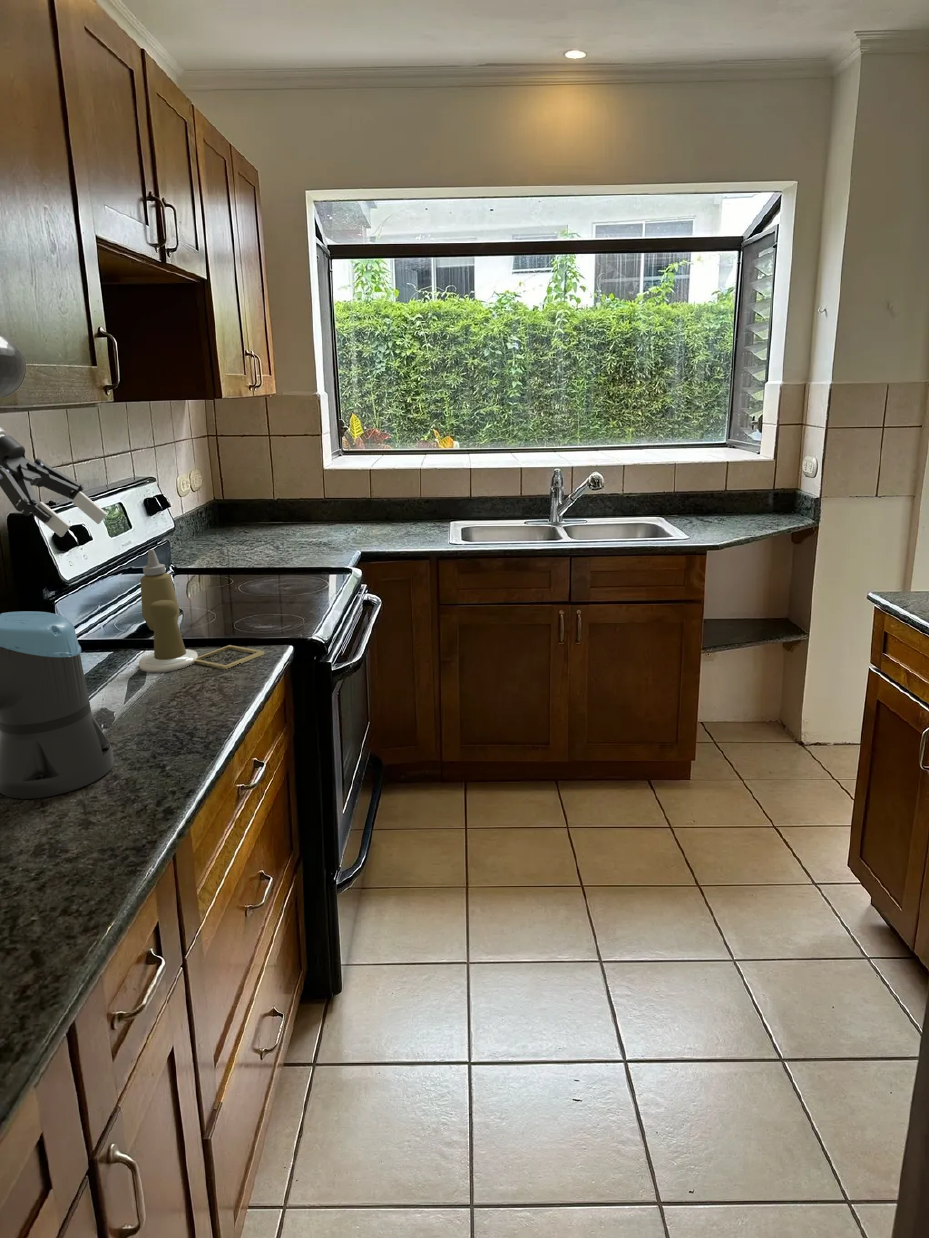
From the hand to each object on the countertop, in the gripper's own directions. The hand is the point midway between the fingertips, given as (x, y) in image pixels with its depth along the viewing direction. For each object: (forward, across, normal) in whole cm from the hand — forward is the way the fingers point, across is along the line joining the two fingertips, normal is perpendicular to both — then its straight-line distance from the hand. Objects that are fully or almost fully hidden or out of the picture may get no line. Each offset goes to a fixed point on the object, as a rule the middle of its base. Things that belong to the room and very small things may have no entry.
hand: (85, 525), depth 159 cm
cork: (+28, 0, -10) cm, 30 cm away
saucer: (+29, +1, -10) cm, 30 cm away
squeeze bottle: (+20, -23, -19) cm, 36 cm away
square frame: (+37, -1, -2) cm, 37 cm away
